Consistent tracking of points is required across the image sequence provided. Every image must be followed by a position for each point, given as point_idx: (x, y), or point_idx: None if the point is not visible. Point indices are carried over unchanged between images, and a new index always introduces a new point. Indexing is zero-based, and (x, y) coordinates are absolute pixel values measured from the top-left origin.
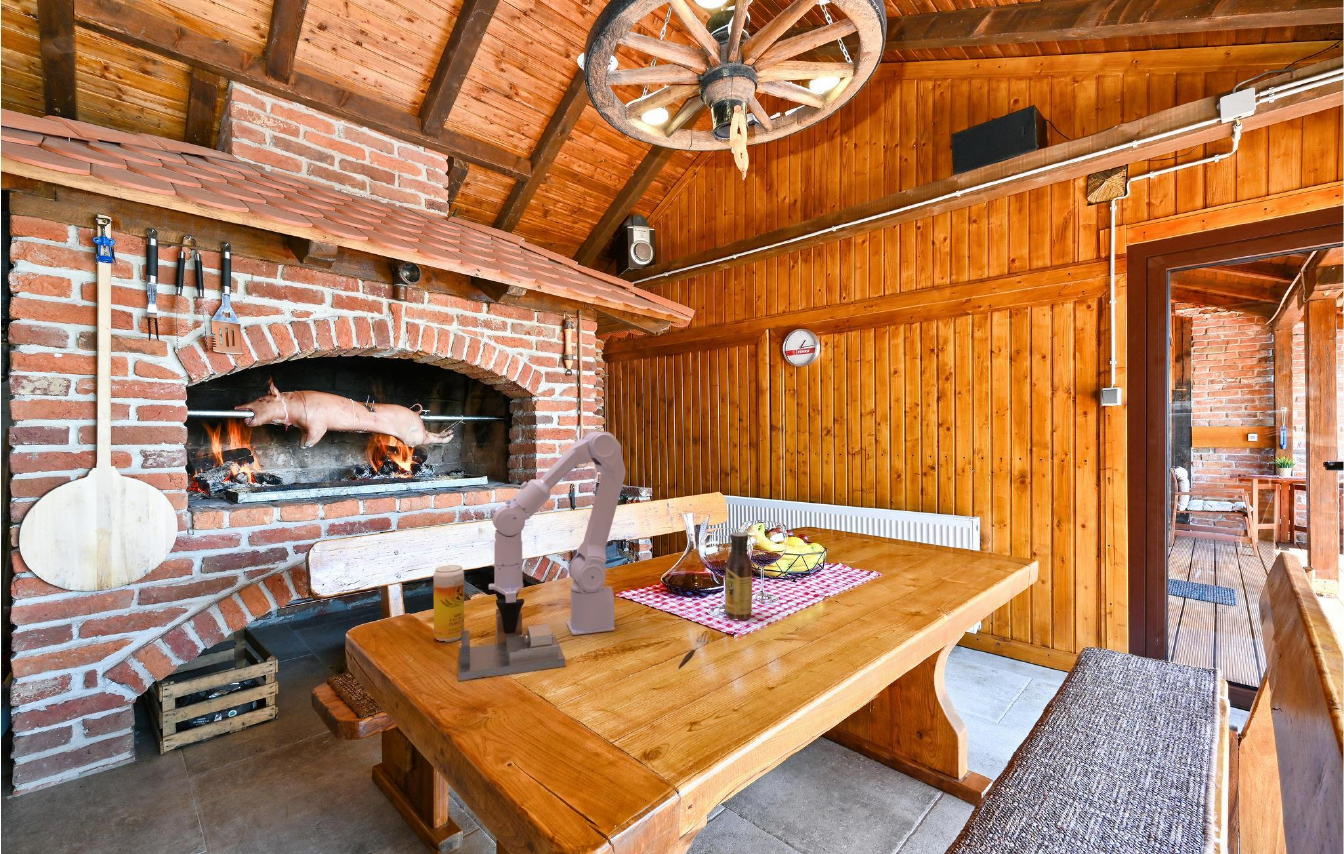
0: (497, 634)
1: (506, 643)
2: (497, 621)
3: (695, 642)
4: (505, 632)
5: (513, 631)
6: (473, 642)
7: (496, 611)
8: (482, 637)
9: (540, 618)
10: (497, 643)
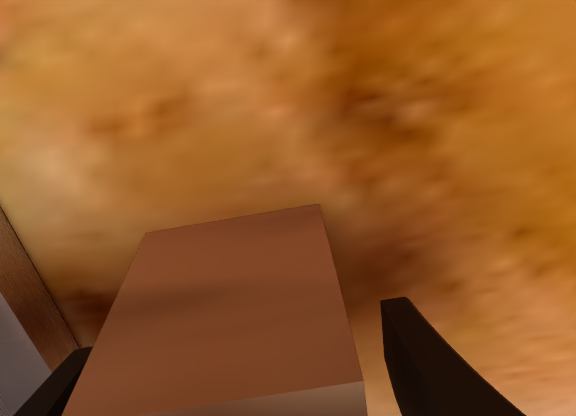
0: (126, 280)
1: (8, 333)
2: (81, 374)
3: None
4: (66, 362)
5: None
6: (206, 42)
7: (257, 396)
8: (318, 104)
9: (562, 396)
10: (144, 238)
